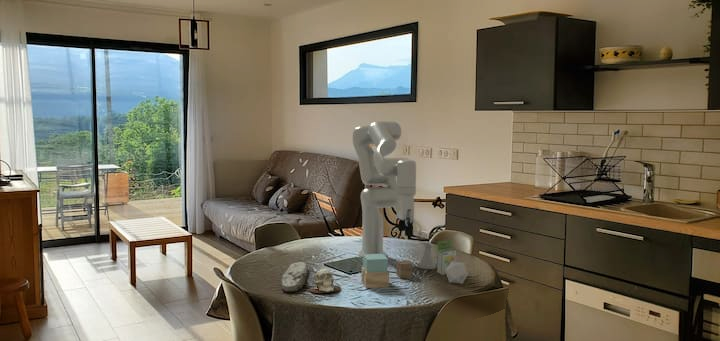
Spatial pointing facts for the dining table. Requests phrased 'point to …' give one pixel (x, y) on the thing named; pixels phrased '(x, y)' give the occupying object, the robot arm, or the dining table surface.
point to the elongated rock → (294, 277)
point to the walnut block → (404, 269)
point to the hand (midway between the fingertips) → (405, 233)
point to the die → (456, 272)
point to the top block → (375, 263)
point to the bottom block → (375, 279)
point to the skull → (324, 282)
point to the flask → (427, 258)
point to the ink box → (445, 256)
